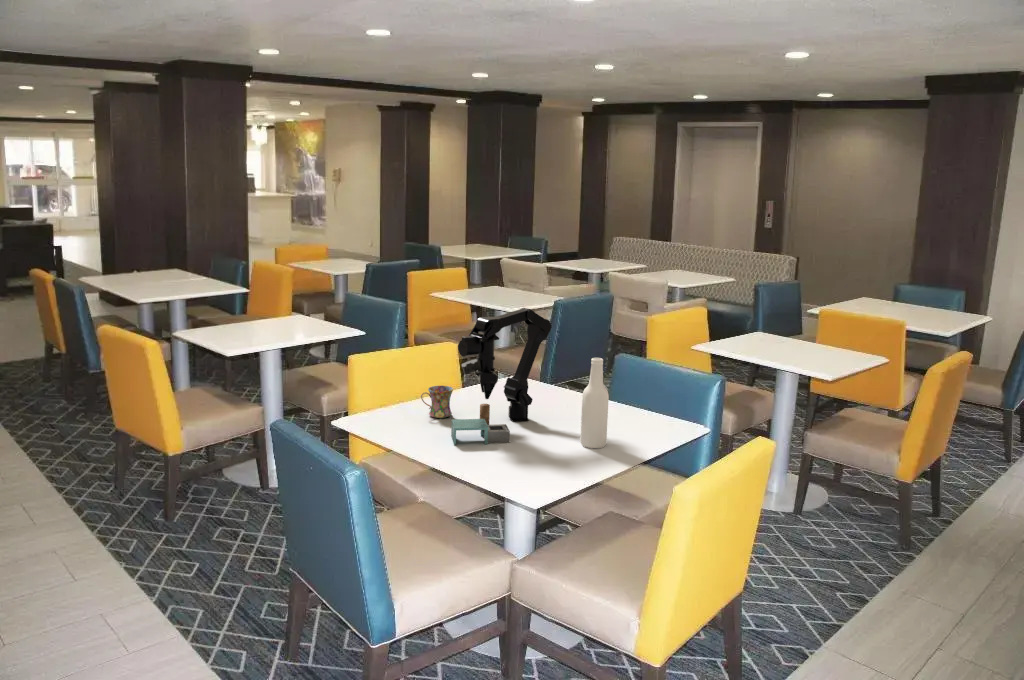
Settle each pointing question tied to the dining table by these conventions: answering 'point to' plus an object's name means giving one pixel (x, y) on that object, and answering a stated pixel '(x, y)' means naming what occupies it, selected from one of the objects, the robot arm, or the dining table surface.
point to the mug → (439, 401)
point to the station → (482, 430)
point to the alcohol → (594, 408)
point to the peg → (485, 412)
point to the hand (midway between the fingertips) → (485, 395)
